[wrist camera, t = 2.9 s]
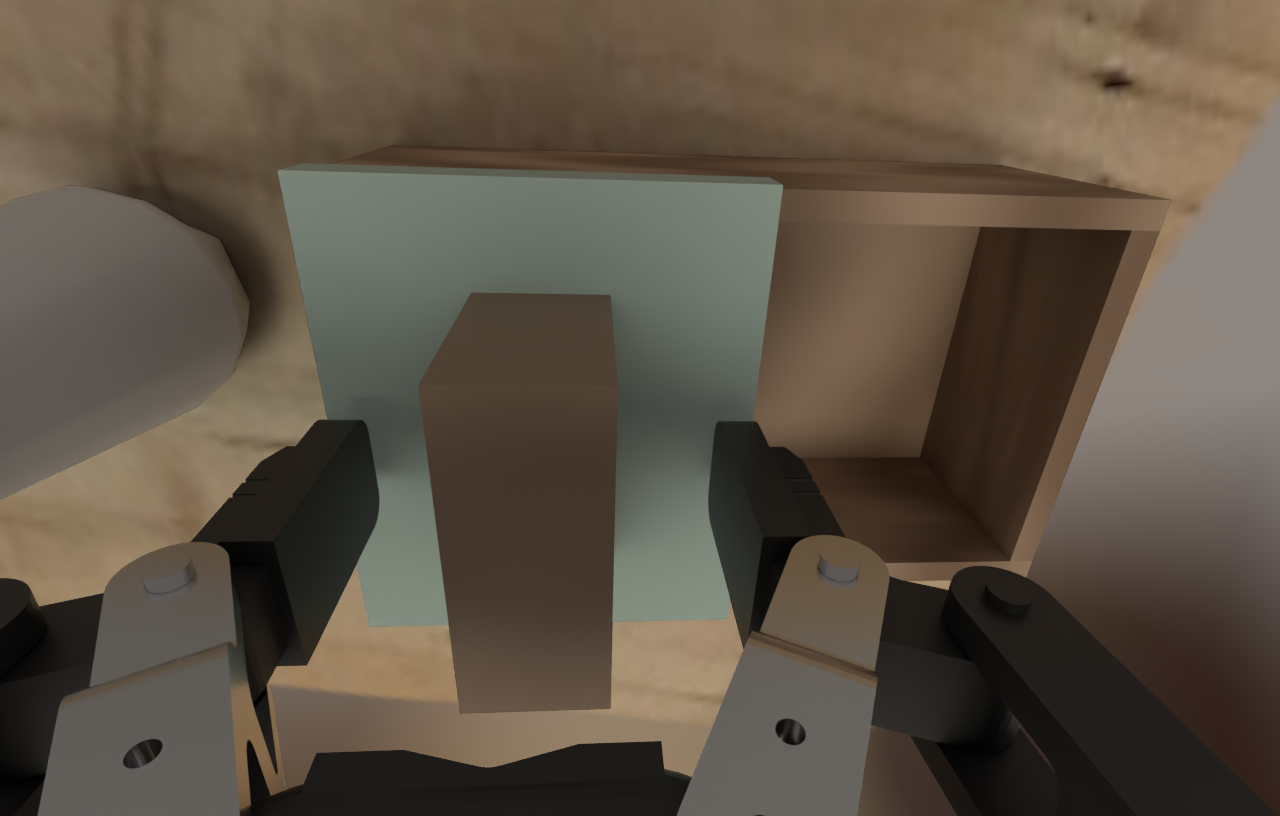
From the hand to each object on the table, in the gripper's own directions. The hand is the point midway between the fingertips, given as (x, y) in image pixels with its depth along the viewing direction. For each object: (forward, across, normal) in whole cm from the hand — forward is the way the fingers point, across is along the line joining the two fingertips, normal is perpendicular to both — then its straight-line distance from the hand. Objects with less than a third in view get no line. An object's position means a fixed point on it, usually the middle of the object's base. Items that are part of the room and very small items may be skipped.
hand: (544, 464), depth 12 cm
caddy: (+8, -4, 0) cm, 9 cm away
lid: (+2, 0, 0) cm, 2 cm away
